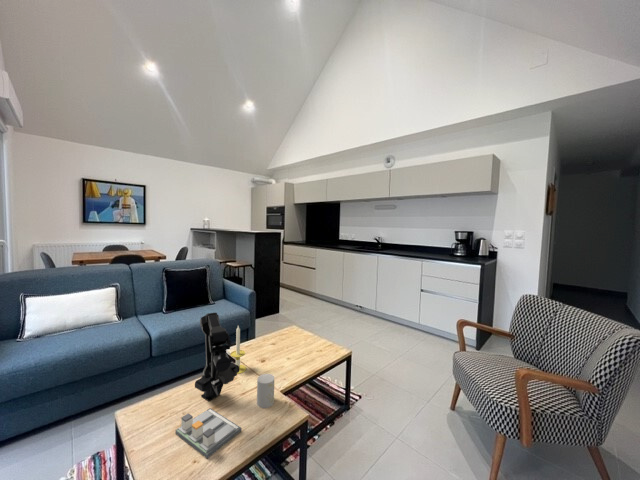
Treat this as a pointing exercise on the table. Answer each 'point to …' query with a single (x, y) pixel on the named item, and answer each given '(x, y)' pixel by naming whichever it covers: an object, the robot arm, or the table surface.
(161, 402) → the table surface
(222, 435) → the panel
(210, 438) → the toggle right
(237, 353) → the candle
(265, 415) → the table surface
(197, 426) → the toggle mid
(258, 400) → the grey cylinder
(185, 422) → the toggle left
